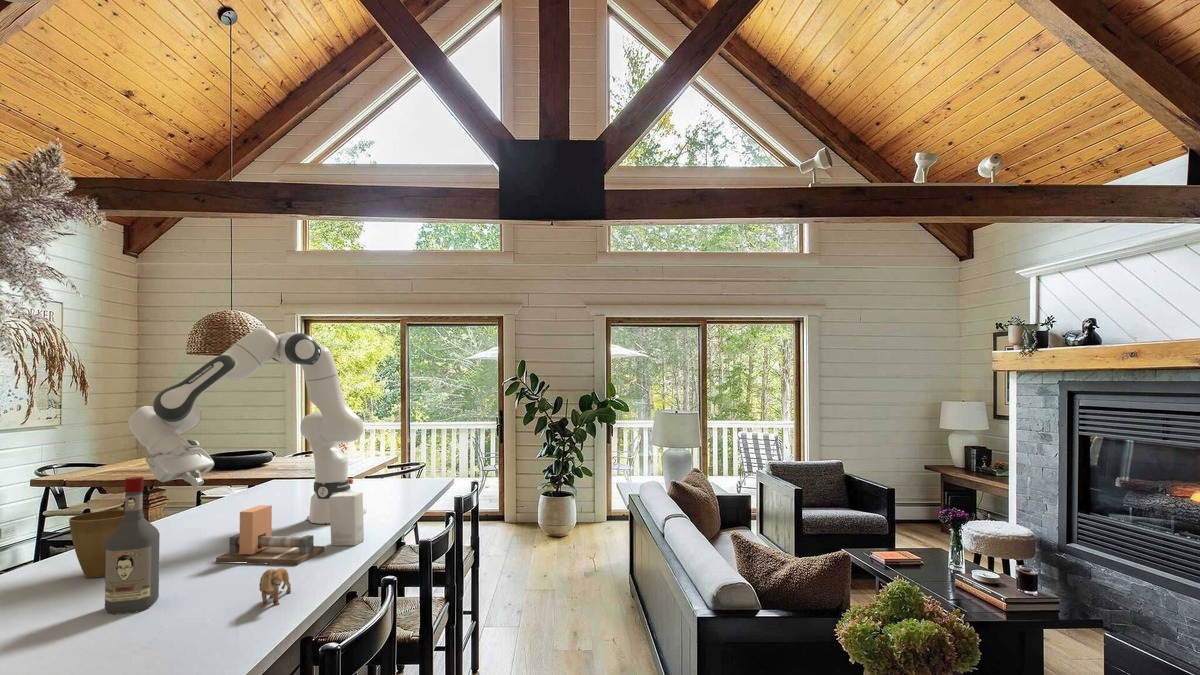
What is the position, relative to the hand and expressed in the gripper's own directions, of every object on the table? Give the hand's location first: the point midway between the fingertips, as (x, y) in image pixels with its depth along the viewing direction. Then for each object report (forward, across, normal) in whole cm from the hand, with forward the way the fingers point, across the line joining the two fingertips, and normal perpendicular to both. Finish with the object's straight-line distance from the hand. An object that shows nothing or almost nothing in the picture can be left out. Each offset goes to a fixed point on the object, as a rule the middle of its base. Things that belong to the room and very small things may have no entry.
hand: (199, 484), depth 200 cm
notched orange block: (+26, 0, 0) cm, 26 cm away
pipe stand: (+31, 0, -2) cm, 31 cm away
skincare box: (+42, +16, -12) cm, 47 cm away
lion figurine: (+48, -34, -18) cm, 62 cm away
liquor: (+26, -41, +4) cm, 49 cm away
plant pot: (+5, -19, +24) cm, 31 cm away
